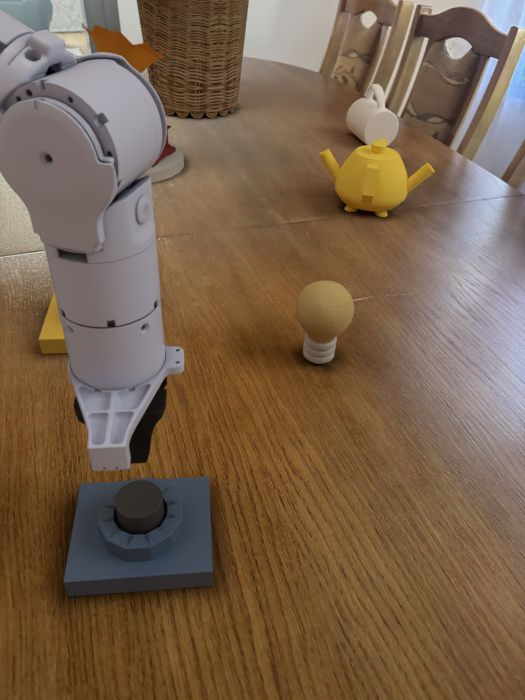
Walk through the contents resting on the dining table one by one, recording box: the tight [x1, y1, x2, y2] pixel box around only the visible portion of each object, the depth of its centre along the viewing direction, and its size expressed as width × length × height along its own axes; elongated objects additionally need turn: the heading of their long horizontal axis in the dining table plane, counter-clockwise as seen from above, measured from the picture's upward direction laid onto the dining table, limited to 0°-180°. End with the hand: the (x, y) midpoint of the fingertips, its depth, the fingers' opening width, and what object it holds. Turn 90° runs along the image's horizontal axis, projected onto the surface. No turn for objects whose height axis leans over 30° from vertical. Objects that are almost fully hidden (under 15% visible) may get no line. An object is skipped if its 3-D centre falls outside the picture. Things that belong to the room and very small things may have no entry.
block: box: [62, 476, 214, 598], centre depth 45 cm, size 11×9×4 cm
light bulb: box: [295, 280, 355, 365], centre depth 63 cm, size 6×6×10 cm
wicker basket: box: [136, 0, 250, 120], centre depth 133 cm, size 35×35×33 cm
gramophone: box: [82, 24, 185, 184], centre depth 103 cm, size 20×20×25 cm
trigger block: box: [37, 291, 68, 355], centre depth 68 cm, size 12×10×4 cm
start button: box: [115, 480, 164, 534], centre depth 44 cm, size 4×4×2 cm
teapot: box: [318, 139, 436, 218], centre depth 97 cm, size 20×18×11 cm
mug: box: [345, 83, 400, 147], centre depth 124 cm, size 8×10×12 cm
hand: (133, 456), depth 40 cm, fingers closed
